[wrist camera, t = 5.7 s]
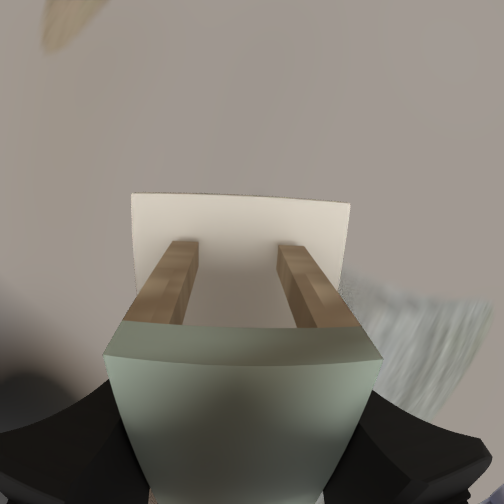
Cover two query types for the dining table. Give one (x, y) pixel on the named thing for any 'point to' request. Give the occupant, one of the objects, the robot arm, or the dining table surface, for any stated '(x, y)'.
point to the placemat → (237, 249)
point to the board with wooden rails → (240, 388)
